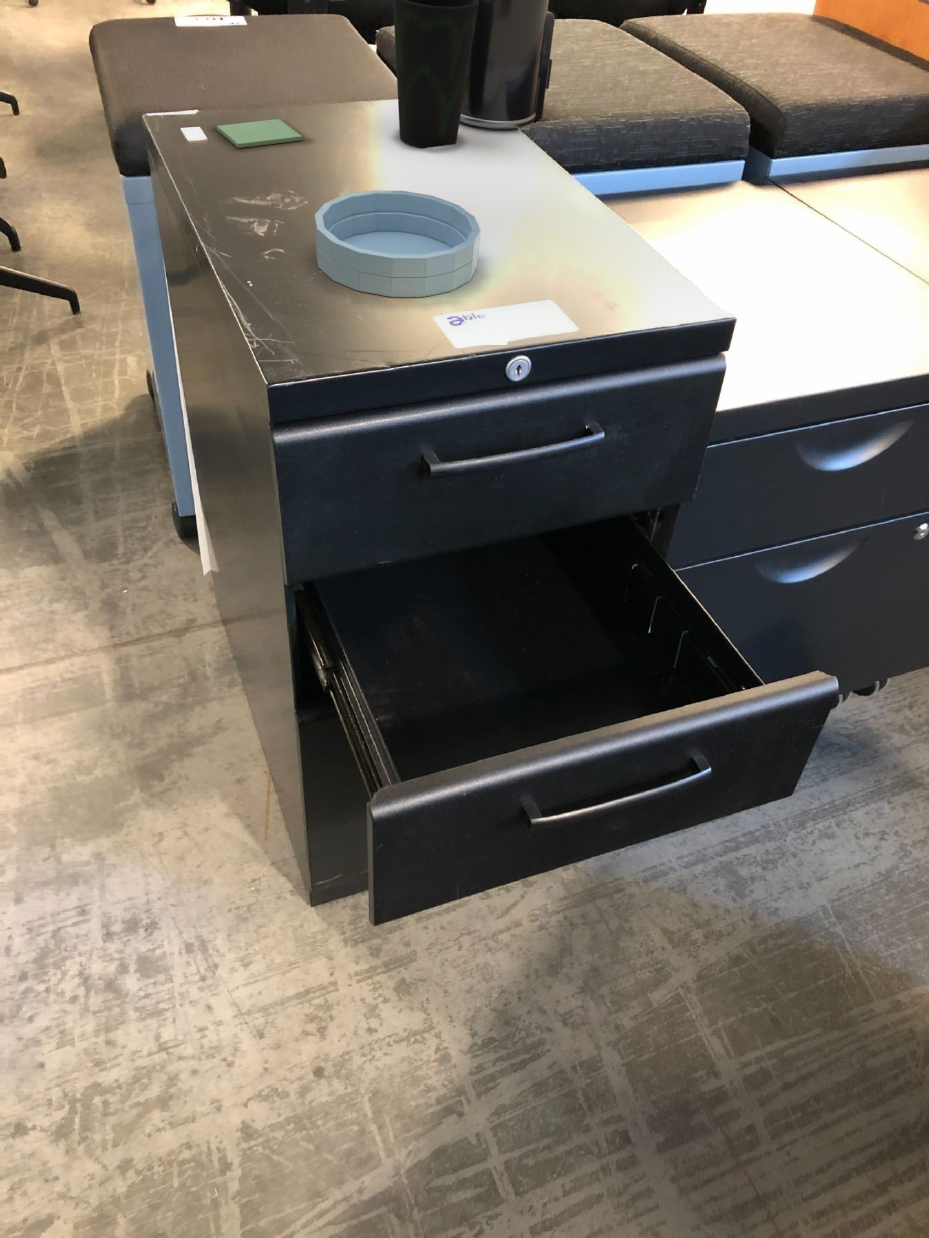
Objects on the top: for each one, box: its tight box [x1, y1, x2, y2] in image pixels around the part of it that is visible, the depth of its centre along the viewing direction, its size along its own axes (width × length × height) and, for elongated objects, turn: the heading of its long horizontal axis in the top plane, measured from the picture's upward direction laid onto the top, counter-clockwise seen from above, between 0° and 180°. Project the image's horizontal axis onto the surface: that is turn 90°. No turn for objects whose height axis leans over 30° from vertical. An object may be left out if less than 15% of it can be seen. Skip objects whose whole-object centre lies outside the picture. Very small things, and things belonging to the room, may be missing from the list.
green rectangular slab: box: [216, 118, 303, 149], centre depth 91 cm, size 6×5×1 cm
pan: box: [314, 189, 481, 298], centre depth 72 cm, size 12×12×4 cm
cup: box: [392, 0, 479, 149], centre depth 90 cm, size 8×8×12 cm
